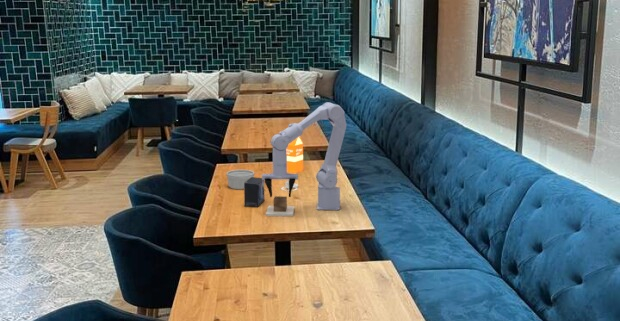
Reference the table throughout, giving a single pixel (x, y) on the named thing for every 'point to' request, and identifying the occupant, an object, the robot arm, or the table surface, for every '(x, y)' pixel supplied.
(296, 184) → the teacup and saucer
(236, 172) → the ramekin
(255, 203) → the small box
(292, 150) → the orange juice
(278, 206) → the walnut block
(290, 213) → the ceramic tile
